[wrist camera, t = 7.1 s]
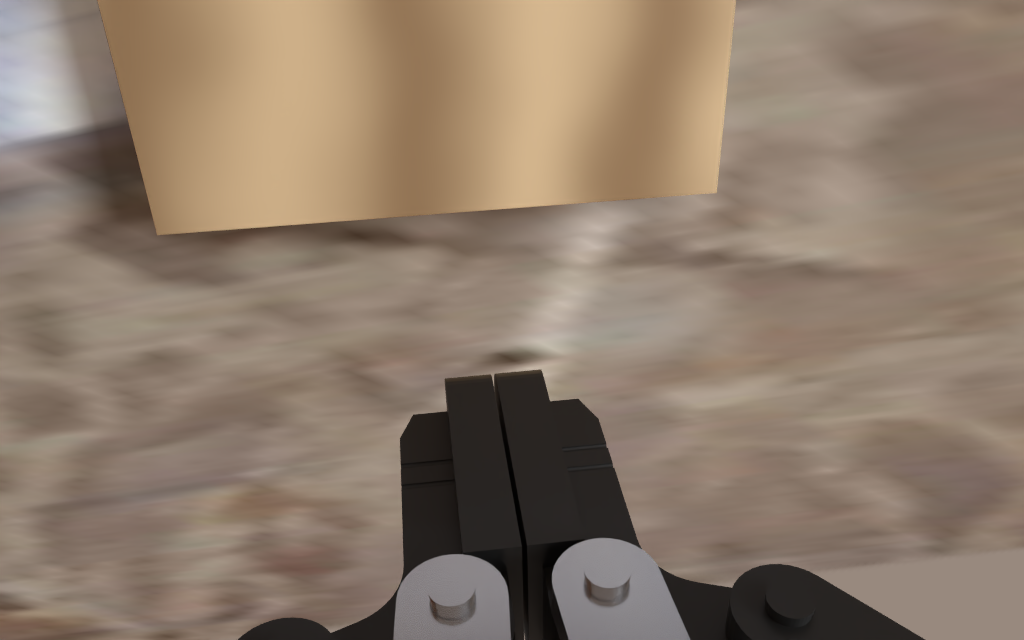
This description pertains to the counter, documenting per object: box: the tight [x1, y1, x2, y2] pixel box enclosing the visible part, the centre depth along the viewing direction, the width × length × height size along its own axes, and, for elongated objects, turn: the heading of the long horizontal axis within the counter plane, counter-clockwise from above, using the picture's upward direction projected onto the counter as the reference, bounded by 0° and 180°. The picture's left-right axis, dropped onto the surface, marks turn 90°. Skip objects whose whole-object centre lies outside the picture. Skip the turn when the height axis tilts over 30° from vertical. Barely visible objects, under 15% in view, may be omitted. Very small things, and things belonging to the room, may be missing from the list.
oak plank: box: [97, 0, 736, 235], centre depth 25 cm, size 16×8×2 cm, turn 91°
